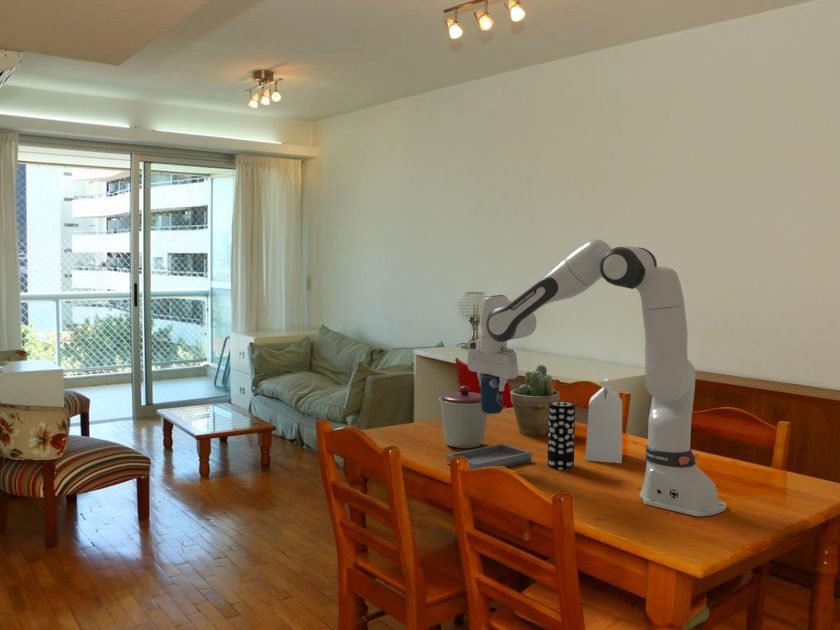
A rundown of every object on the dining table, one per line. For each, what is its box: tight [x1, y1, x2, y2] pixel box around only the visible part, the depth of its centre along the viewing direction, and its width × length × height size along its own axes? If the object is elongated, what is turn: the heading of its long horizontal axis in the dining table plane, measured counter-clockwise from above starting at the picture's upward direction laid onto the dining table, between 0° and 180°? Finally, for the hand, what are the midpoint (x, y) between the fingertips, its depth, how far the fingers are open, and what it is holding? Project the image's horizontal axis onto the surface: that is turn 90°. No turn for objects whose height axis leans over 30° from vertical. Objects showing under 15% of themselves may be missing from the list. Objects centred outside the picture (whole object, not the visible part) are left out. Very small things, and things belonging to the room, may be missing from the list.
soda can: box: [480, 374, 504, 415], centre depth 236 cm, size 7×7×12 cm
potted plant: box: [509, 364, 561, 437], centre depth 279 cm, size 18×19×25 cm
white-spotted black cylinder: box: [546, 400, 576, 471], centre depth 235 cm, size 8×8×20 cm
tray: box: [446, 443, 532, 469], centre depth 238 cm, size 14×24×3 cm, turn 127°
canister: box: [438, 385, 488, 449], centre depth 260 cm, size 18×18×21 cm
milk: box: [584, 377, 623, 464], centre depth 246 cm, size 12×12×26 cm
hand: (491, 388), depth 236 cm, fingers closed on soda can, 7 cm apart
